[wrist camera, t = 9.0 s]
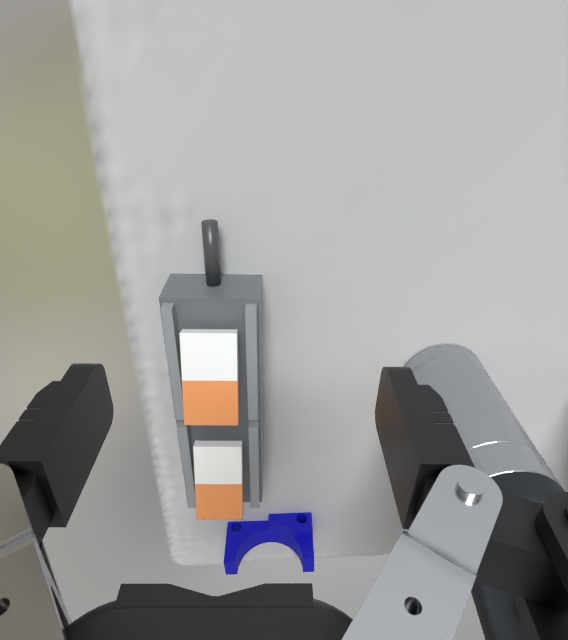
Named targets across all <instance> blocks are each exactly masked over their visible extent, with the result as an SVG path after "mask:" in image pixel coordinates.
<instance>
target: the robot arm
mask: <svg viewBox="0 0 568 640" xmlns="http://www.w3.org/2000/svg"><path fill="white" fill-rule="evenodd" d="M112 418H113V403H112V399H111V395H110V391H109V386H108V382H107V378H106V374H105V370H104V367H103V365H102V364H72V365H71V366H70V367H69V369H68V370H67V372H66V374H65V375H64V377H63V378H62V380H61V381H52V382H51V383H50V384H49V385H47V386H46V387H44V388H43V389H42V390H40V391H39V392H38V393H37V394H36V395H35V397H34V398H33V399H32V401H31V402H30V404H29V405H28V406H27V410H25V411H24V412H23V414H22V415H21V416H20V418H19V422H16V424H15V425H14V426H13V428H12V429H11V431H10V432H9V433H8V435H7V436H6V438H5V439H4V441H3V442H2V443H1V445H0V640H453V638H454V636H455V633H456V630H457V627H458V625H459V622H460V619H461V617H462V614H463V611H464V609H465V606H466V603H467V601H468V598H469V595H470V592H471V593H472V596H473V600H474V603H475V606H476V609H477V613H478V616H479V619H480V623H481V626H482V630H483V633H484V636H485V640H568V492H564V490H563V488H562V487H561V485H560V484H559V482H558V481H557V479H556V478H555V476H554V475H553V473H552V472H551V470H550V469H549V467H548V465H547V464H546V462H545V461H544V459H543V458H542V457H541V455H540V454H539V452H538V450H537V449H536V447H535V446H534V444H533V443H532V441H531V440H530V438H529V437H528V435H527V434H526V432H525V430H524V429H523V427H522V426H521V424H520V423H519V421H518V420H517V418H516V417H515V415H514V414H513V412H512V411H511V409H510V407H509V406H508V404H507V403H506V401H505V400H504V398H503V397H502V395H501V394H500V392H499V391H498V389H497V387H496V386H495V384H494V383H493V381H492V379H491V378H490V376H489V375H488V373H487V372H486V370H485V369H484V367H483V366H482V364H481V363H480V361H479V360H478V358H477V357H476V355H475V354H473V353H472V352H471V351H470V350H468V349H466V348H464V347H461V346H457V345H438V346H434V347H430V348H428V349H426V350H423V351H421V352H420V353H418V354H417V355H415V356H414V357H413V358H412V359H411V360H410V361H408V362H407V364H406V365H405V367H383V369H382V372H381V377H380V383H379V389H378V395H377V402H376V408H375V421H376V428H377V432H378V436H379V440H380V444H381V447H382V451H383V455H384V459H385V463H386V467H387V470H388V474H389V478H390V482H391V486H392V489H393V493H394V497H395V501H396V505H397V508H398V512H399V516H400V520H401V524H402V528H403V529H409V530H408V532H405V531H404V532H403V533H402V534H401V536H400V537H399V539H398V540H397V542H396V544H395V546H394V548H393V549H392V551H391V553H390V555H389V556H388V558H387V560H386V562H385V564H384V565H383V567H382V569H381V571H380V572H379V574H378V576H377V578H376V580H375V581H374V583H373V585H372V587H371V589H370V590H369V592H368V594H367V596H366V597H365V599H364V601H363V603H362V605H361V606H360V608H359V610H358V612H357V613H356V615H355V617H354V619H351V618H350V617H349V616H347V615H346V614H345V613H344V612H342V611H340V610H338V609H337V608H335V607H334V606H331V605H329V604H327V603H325V602H322V601H319V600H316V599H313V592H312V591H313V590H312V584H262V585H259V586H255V587H251V588H248V589H244V590H240V591H237V592H233V593H230V594H226V595H222V596H218V597H217V596H209V595H206V594H202V593H199V592H195V591H192V590H188V589H185V588H181V587H178V586H174V585H171V584H121V586H120V590H119V593H118V597H117V600H116V601H113V602H109V603H107V604H104V605H102V606H99V607H97V608H95V609H93V610H91V611H89V612H88V613H86V614H84V615H83V616H82V617H80V618H78V619H77V620H75V621H74V622H72V623H71V620H70V617H69V615H68V612H67V610H66V607H65V604H64V601H63V598H62V595H61V593H60V589H59V586H58V584H57V581H56V578H55V575H54V572H53V569H52V566H51V563H50V560H49V557H48V554H47V551H46V548H45V546H44V543H43V541H42V539H43V538H44V535H45V533H46V531H47V529H48V527H66V525H67V523H68V521H69V519H70V516H71V514H72V512H73V510H74V508H75V505H76V503H77V501H78V498H79V496H80V494H81V492H82V489H83V487H84V485H85V483H86V481H87V478H88V476H89V474H90V472H91V469H92V467H93V465H94V463H95V460H96V458H97V456H98V453H99V451H100V449H101V447H102V445H103V442H104V440H105V438H106V436H107V433H108V431H109V429H110V426H111V424H112Z"/></svg>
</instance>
